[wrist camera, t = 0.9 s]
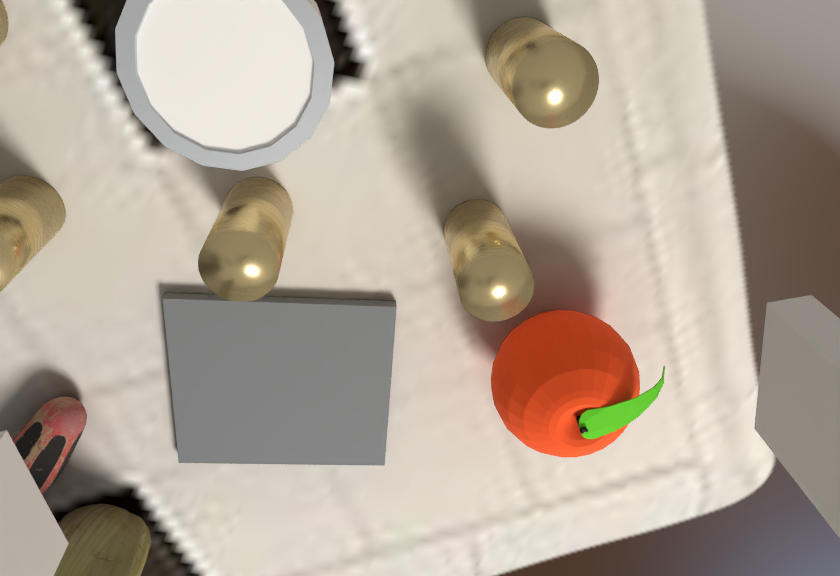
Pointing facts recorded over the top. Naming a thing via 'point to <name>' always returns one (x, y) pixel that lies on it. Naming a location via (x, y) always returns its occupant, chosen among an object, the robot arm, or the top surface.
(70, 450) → the screwdriver
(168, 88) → the white cup
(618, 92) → the top surface
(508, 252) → the spacer field
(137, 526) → the fennel bulb
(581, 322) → the clementine
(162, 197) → the top surface
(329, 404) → the slate mat
